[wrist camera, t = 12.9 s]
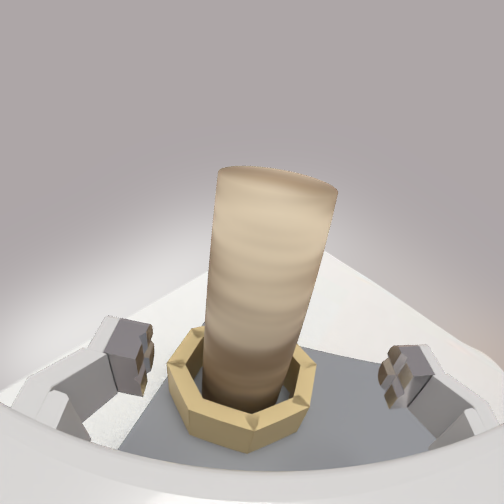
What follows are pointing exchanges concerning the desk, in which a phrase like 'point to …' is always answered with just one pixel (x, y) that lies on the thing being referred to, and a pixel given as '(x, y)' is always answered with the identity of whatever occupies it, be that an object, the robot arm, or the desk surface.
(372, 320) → the desk surface
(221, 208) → the ash peg
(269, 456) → the socket board
